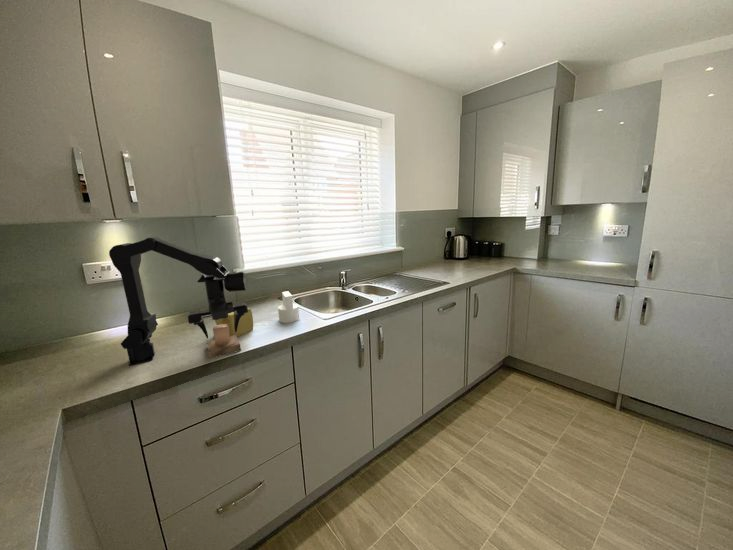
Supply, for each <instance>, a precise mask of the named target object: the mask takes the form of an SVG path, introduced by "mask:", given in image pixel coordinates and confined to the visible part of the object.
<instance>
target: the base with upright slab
mask: <svg viewBox="0 0 733 550" xmlns="http://www.w3.org/2000/svg"><path fill="white" fill-rule="evenodd" d="M281 297H282V304H281V305H279V306H278V307H277V313H278V321H279V322H280V323H282V324H283V323H284V324H285V323H286V324H289V323H294V322H297V321H299V320H300V312H299V311H300V309H299V305H298V304H297V303H294V302H293V300H294V299H293V295H292V294H291V292H289V290H288V291H283V292H281Z"/></svg>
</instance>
